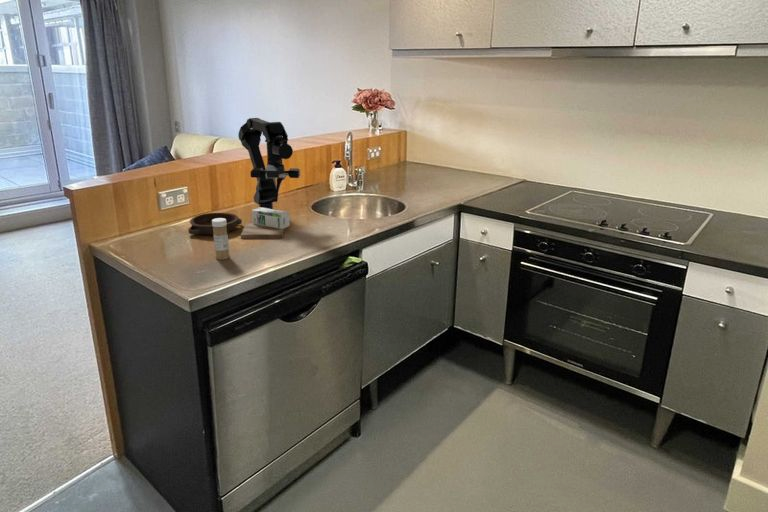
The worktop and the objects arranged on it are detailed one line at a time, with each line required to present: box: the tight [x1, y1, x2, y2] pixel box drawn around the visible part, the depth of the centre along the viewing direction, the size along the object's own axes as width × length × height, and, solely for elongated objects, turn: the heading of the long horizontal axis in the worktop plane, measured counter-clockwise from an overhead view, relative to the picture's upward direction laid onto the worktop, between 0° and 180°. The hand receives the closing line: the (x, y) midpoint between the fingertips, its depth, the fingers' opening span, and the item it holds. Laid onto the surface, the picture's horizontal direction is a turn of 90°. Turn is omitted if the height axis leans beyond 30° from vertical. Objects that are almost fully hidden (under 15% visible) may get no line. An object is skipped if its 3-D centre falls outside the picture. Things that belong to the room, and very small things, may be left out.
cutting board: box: [240, 221, 286, 239], centre depth 203 cm, size 16×15×2 cm
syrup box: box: [251, 206, 291, 229], centre depth 206 cm, size 6×6×14 cm
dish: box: [187, 212, 243, 236], centre depth 203 cm, size 18×22×5 cm
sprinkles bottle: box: [212, 218, 230, 261], centre depth 174 cm, size 5×5×13 cm
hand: (276, 194), depth 210 cm, fingers closed
